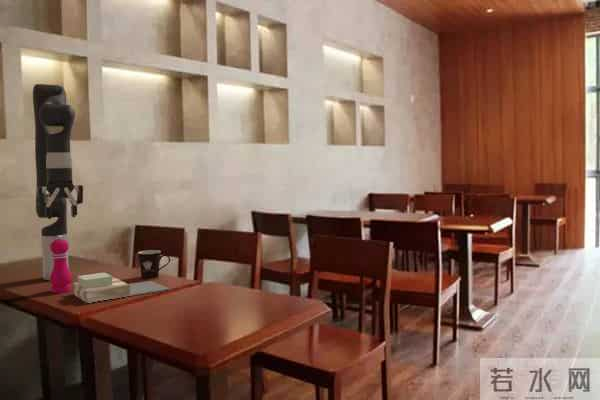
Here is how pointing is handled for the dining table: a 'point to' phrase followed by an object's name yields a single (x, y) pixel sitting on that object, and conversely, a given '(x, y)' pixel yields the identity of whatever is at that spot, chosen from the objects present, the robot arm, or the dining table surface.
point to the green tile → (94, 280)
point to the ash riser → (102, 291)
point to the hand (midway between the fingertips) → (61, 217)
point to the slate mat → (145, 288)
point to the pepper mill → (60, 266)
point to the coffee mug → (150, 263)
